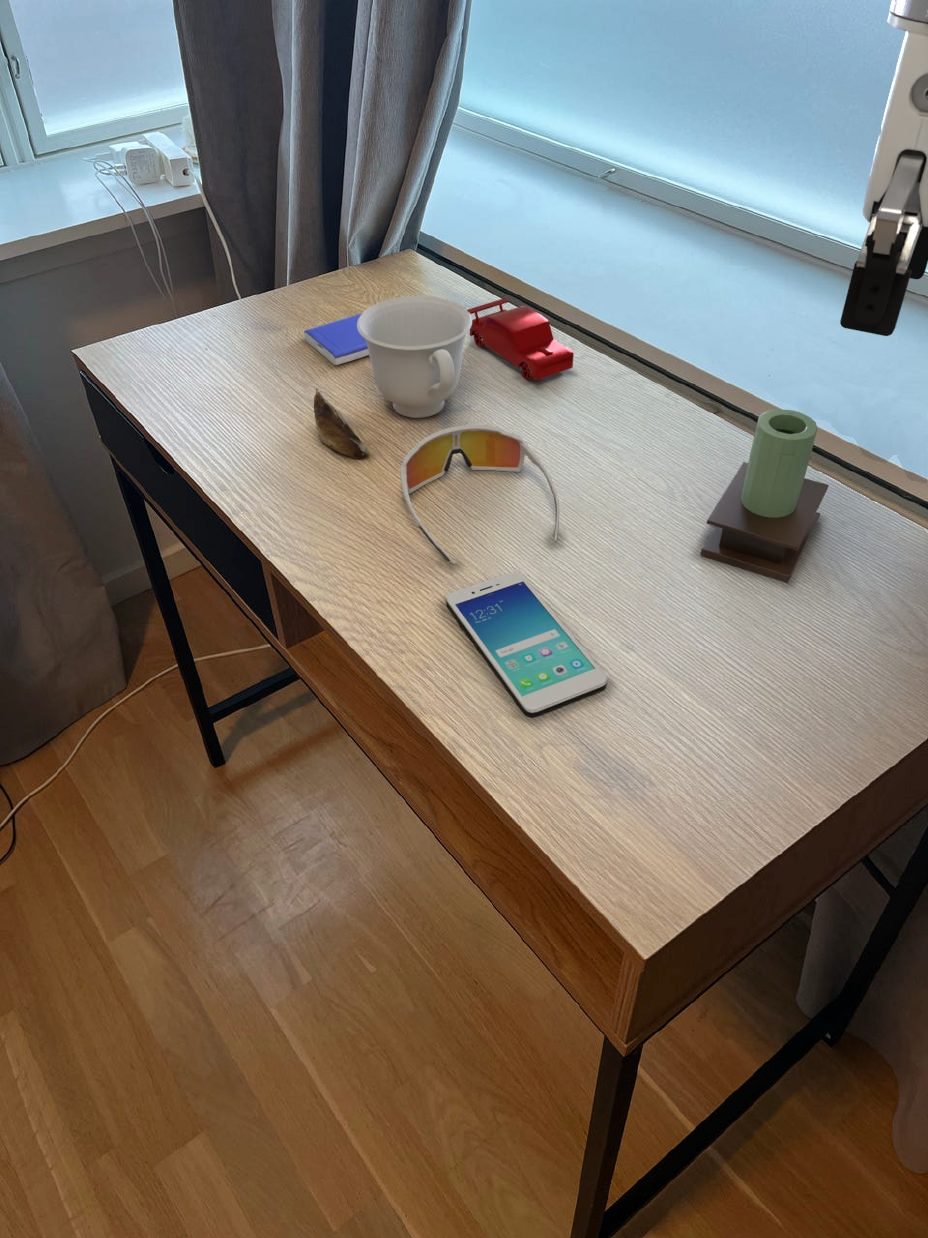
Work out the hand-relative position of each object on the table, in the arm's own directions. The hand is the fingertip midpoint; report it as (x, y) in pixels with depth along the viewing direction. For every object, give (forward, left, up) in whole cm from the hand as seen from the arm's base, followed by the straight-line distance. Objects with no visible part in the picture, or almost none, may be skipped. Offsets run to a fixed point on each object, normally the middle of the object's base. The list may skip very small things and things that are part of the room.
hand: (882, 300), depth 63 cm
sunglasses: (+30, 0, -28) cm, 41 cm away
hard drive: (+59, -24, -28) cm, 69 cm away
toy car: (+41, -29, -28) cm, 57 cm away
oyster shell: (+49, -4, -28) cm, 56 cm away
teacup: (+44, -13, -28) cm, 54 cm away
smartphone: (+18, +15, -27) cm, 36 cm away
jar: (+5, -8, -23) cm, 25 cm away
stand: (+5, -8, -27) cm, 29 cm away
